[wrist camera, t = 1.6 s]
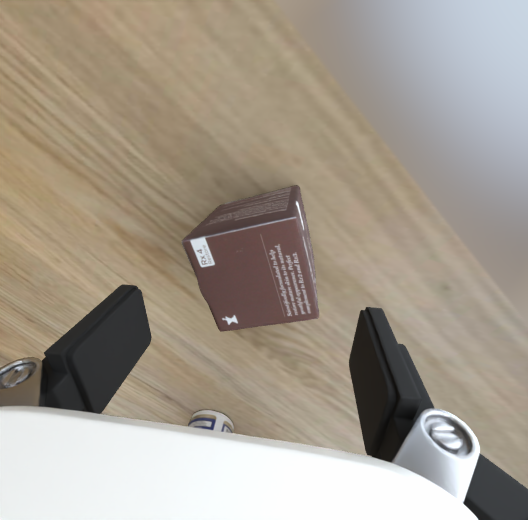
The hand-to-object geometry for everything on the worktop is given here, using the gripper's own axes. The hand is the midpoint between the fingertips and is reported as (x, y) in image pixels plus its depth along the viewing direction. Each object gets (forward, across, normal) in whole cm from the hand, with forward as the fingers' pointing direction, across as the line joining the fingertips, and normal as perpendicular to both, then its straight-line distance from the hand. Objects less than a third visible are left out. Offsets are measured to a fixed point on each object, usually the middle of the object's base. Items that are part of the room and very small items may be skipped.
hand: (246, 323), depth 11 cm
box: (+10, 0, 0) cm, 10 cm away
